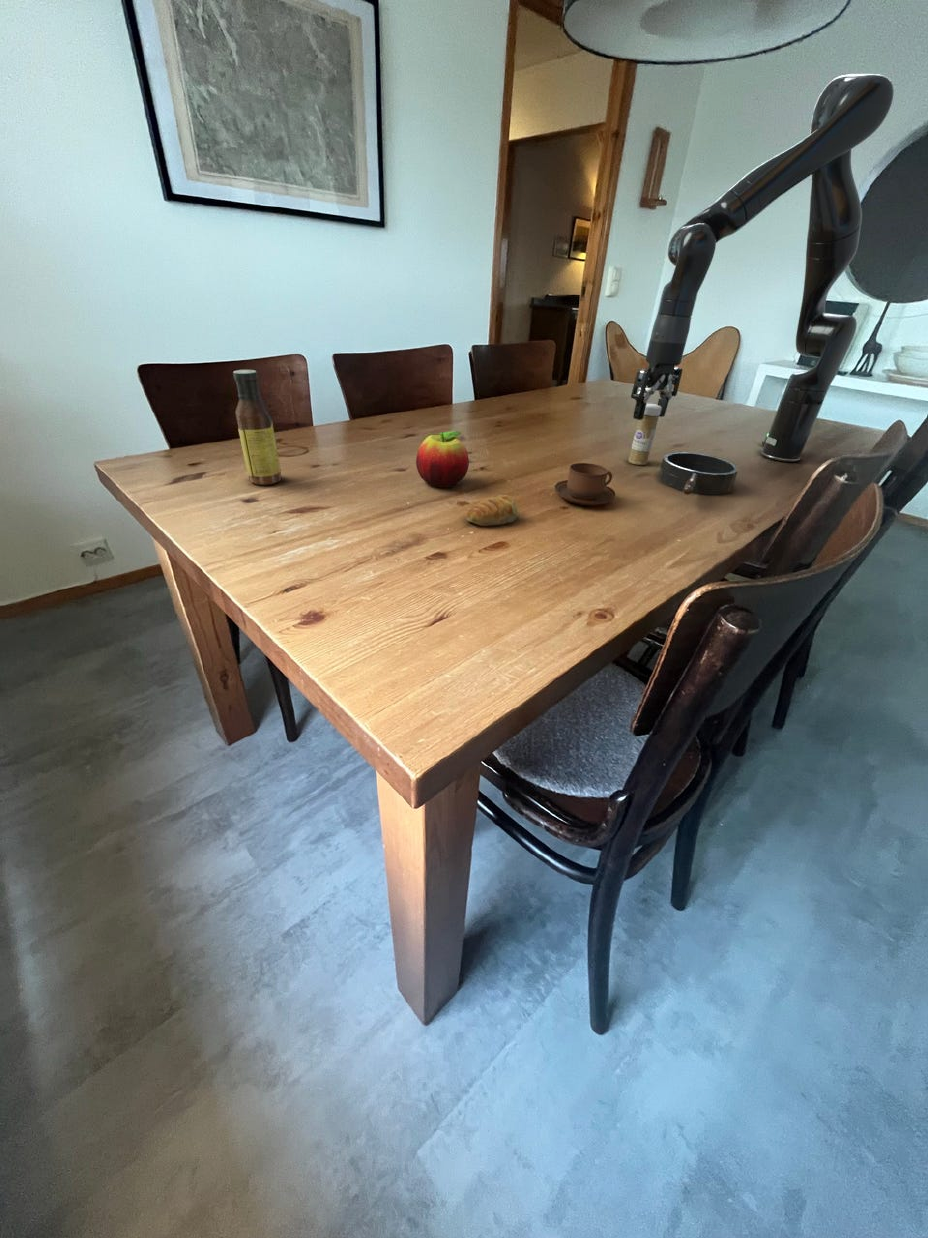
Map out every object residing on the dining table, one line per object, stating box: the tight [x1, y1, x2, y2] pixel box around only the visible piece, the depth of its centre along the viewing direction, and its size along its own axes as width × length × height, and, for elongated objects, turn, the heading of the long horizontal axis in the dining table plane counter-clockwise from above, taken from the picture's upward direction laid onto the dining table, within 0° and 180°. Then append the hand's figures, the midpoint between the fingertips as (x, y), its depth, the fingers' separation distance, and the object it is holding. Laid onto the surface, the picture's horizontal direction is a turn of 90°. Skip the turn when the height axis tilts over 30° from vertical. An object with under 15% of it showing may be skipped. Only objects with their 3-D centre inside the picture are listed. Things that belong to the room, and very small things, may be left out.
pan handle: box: [682, 473, 699, 496], centre depth 106 cm, size 11×2×2 cm, turn 153°
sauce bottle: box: [232, 369, 282, 486], centre depth 98 cm, size 7×6×20 cm
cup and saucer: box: [554, 462, 616, 506], centre depth 104 cm, size 12×12×6 cm
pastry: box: [465, 494, 520, 527], centre depth 93 cm, size 9×7×4 cm
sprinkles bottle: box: [628, 403, 662, 466], centre depth 124 cm, size 5×5×14 cm
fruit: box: [415, 430, 470, 488], centre depth 106 cm, size 11×11×10 cm
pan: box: [658, 451, 739, 496], centre depth 117 cm, size 16×16×4 cm
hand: (648, 417), depth 122 cm, fingers open, 8 cm apart
